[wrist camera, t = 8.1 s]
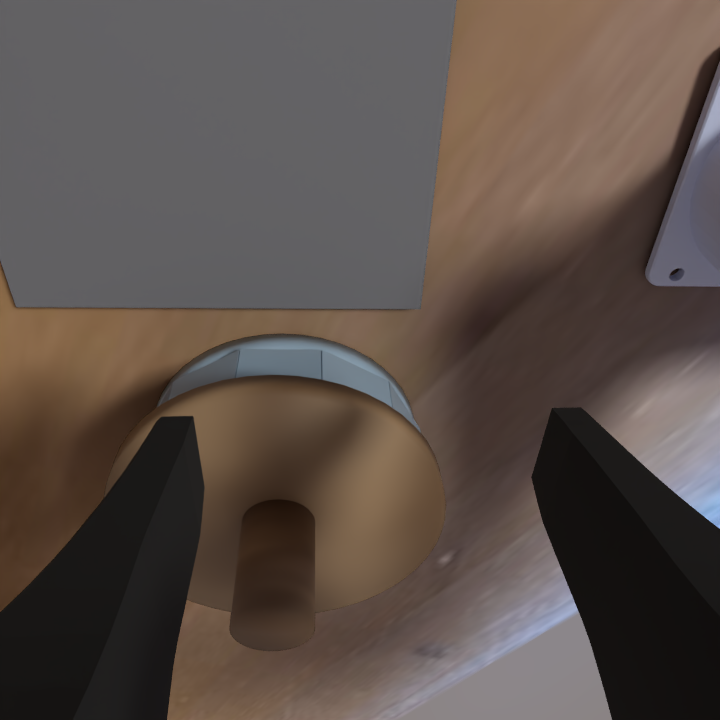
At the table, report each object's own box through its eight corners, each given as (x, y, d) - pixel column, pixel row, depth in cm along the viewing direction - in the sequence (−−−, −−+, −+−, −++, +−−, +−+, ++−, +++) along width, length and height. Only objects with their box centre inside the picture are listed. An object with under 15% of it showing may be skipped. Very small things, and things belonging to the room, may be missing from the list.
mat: (477, -216, 15) (481, -219, 14) (418, 300, 23) (420, 309, 23) (-161, -256, 14) (-178, -261, 13) (22, 297, 22) (16, 306, 22)
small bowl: (427, 333, 24) (444, 403, 21) (403, 519, 31) (413, 593, 27) (132, 333, 23) (103, 405, 20) (173, 523, 30) (156, 600, 27)
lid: (437, 354, 20) (467, 475, 16) (444, 577, 27) (466, 698, 23) (56, 397, 20) (-9, 527, 16) (166, 607, 27) (140, 732, 23)
